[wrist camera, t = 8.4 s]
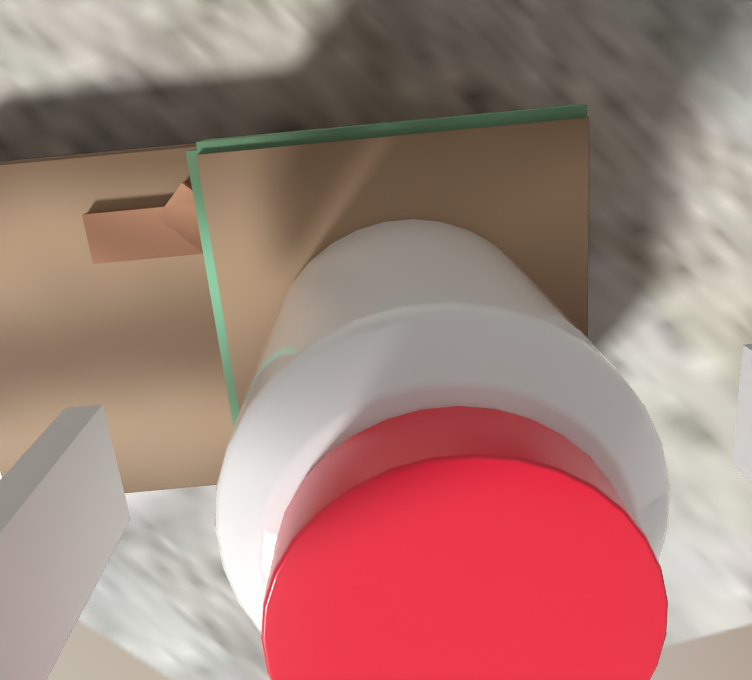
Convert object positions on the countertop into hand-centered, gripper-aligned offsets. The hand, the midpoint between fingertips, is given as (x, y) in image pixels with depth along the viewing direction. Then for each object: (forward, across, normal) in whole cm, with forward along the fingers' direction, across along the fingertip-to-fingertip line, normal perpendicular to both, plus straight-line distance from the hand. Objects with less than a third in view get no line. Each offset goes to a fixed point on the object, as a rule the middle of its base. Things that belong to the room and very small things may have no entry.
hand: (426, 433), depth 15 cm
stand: (+13, -5, 0) cm, 14 cm away
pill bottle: (+6, 0, 0) cm, 6 cm away
